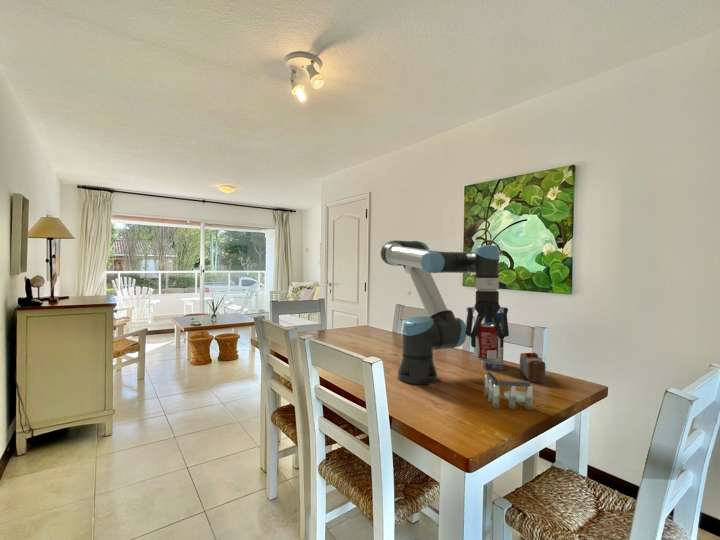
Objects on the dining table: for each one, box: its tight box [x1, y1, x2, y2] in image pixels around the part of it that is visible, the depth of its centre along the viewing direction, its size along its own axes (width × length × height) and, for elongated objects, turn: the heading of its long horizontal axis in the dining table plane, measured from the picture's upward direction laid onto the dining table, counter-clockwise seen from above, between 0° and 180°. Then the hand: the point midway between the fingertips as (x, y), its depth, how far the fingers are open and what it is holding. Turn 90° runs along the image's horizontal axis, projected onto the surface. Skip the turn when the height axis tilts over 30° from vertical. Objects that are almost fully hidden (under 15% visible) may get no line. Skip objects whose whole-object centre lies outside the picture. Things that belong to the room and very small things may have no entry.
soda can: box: [476, 324, 497, 361], centre depth 123 cm, size 7×7×12 cm
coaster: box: [503, 390, 534, 404], centre depth 120 cm, size 9×9×1 cm
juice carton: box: [479, 310, 505, 371], centre depth 156 cm, size 12×8×24 cm, turn 171°
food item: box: [519, 352, 546, 384], centre depth 141 cm, size 14×8×10 cm, turn 170°
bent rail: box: [483, 371, 534, 410], centre depth 116 cm, size 12×11×8 cm
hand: (486, 356), depth 123 cm, fingers closed on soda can, 7 cm apart
